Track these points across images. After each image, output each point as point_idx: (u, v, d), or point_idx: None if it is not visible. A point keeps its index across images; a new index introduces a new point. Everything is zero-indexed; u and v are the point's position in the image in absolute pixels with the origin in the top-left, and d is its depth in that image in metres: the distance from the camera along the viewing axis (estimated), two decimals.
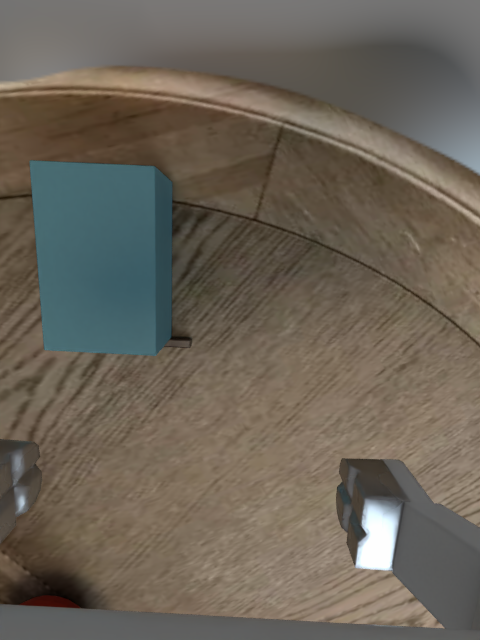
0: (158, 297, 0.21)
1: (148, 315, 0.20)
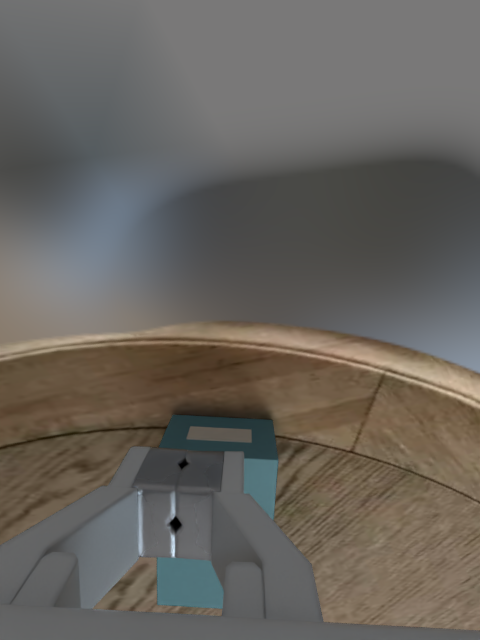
0: None
1: None
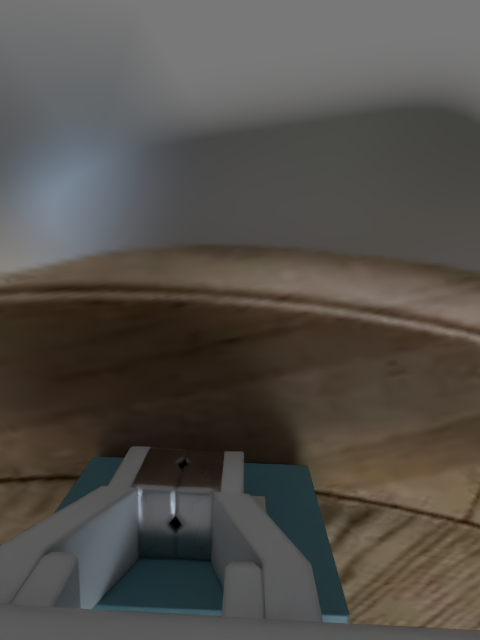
0: None
1: None
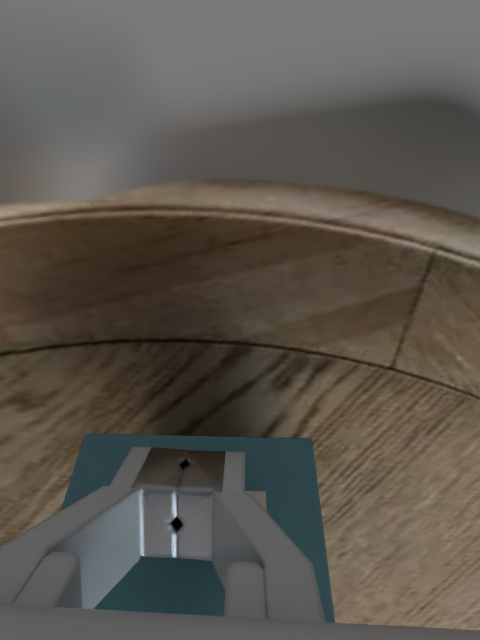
0: None
1: None
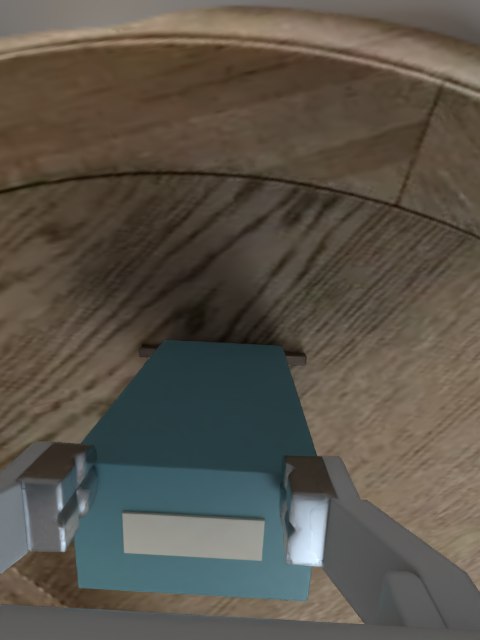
0: None
1: None
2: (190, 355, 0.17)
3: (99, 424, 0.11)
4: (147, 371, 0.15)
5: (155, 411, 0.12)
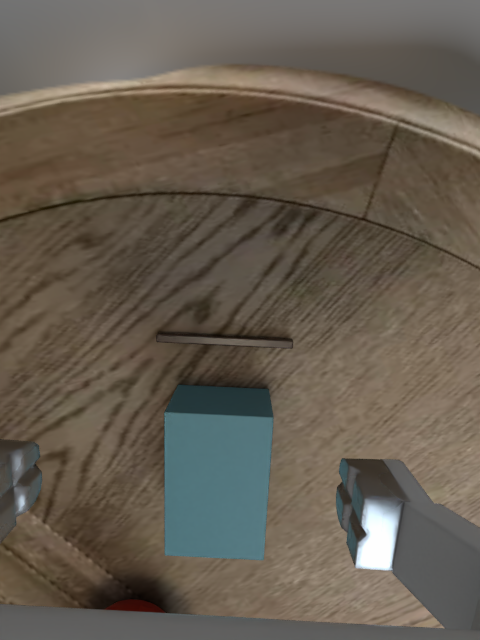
0: None
1: None
2: (194, 447, 0.22)
3: (166, 533, 0.23)
4: (170, 478, 0.22)
5: (189, 523, 0.23)
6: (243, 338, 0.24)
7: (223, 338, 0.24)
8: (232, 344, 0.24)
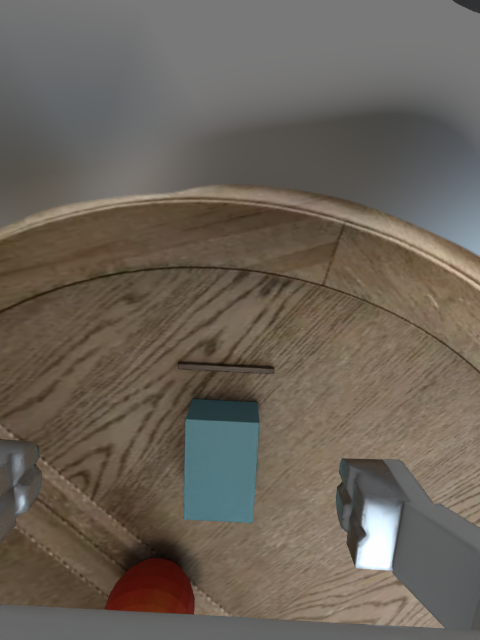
0: None
1: None
2: (205, 443, 0.32)
3: (185, 503, 0.33)
4: (188, 464, 0.32)
5: (201, 496, 0.33)
6: (239, 366, 0.35)
7: (225, 367, 0.35)
8: (231, 371, 0.35)
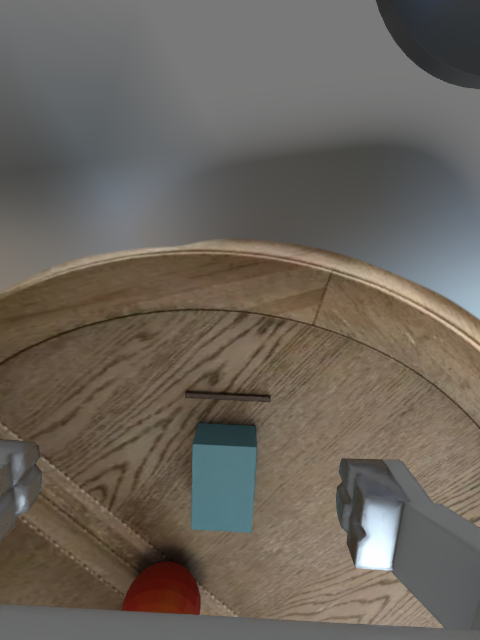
0: None
1: None
2: (209, 464, 0.37)
3: (192, 516, 0.38)
4: (195, 482, 0.37)
5: (206, 509, 0.38)
6: (239, 395, 0.39)
7: (227, 396, 0.39)
8: (232, 399, 0.39)
